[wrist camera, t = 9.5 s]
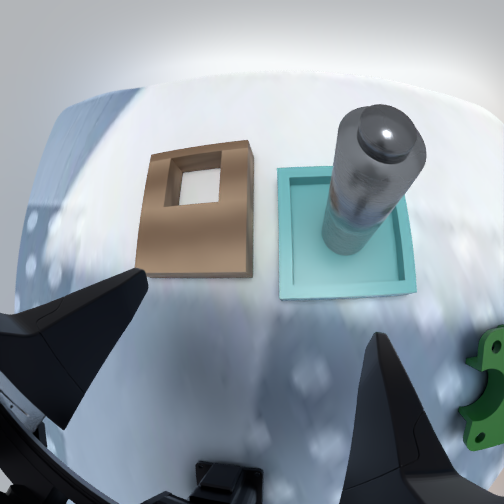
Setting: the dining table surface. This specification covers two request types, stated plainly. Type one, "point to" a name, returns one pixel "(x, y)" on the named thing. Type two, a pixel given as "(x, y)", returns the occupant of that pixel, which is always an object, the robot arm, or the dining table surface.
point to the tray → (326, 261)
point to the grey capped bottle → (369, 174)
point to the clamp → (487, 395)
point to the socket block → (198, 216)
